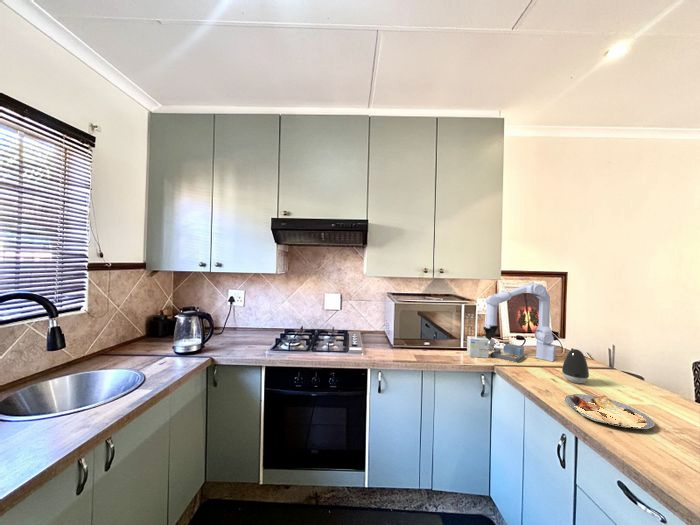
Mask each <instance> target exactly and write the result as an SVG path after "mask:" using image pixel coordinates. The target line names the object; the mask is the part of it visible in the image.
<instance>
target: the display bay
mask: <svg viewBox="0 0 700 525" xmlns="http://www.w3.org/2000/svg"><path fill="white" fill-rule="evenodd" d="M500 353H501V348H500V349H499V348H497V349H496V350H493V351H492V352H491V353H490V357H491V358H495V359H499V358H500V359H499V360H503V359H504V361H508V360H509V361H508V362H512V361H513V362H512V363H516V362H517V364H518V363H520V362H521V361H522V360H523V358H524V359H525V353H524V354H521V355H520V356H516V357H512V356H507V355H503V354H500ZM519 361H520V362H519Z"/></svg>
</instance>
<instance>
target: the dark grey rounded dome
mask: <svg viewBox="0 0 700 525" xmlns="http://www.w3.org/2000/svg"><path fill="white" fill-rule="evenodd" d="M561 372H562V375H563V377H564V379H565V380H567V381H568V382H569V383H570V382H571V383H573V384H577V383H581V384H584V383H586V382H587V381H588V378H589V377H590V370H589V366H588V363H587V359H586V356H585V355H584V353H583V352H582V351H581V350H580V349H578V348H577V349H576V348H574V347H573V348H571V349H570V350H569V351H568V352H567V354H566V356H565V359H564V361H563V364H562V368H561Z"/></svg>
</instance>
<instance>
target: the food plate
mask: <svg viewBox="0 0 700 525" xmlns="http://www.w3.org/2000/svg"><path fill="white" fill-rule="evenodd" d="M564 402H565V403H566V404H567V405H569V406H570V407H571V409H574V410H575V412H577V410H576V409H577V408H576V407H574V406H578V407H580V408H582V409H584V410H585V411H596V410H599V409H600V407H601V408H603V409H605V410H607V411H609V412H611V413H613V414H616V413H614V412H616V411H617V412H620V411H627V412H628V413H631V414H633V415H635V414H634V413H637V414H639V415H641V416H643V418H645V419H646V421H645V420H640V419H638V420H636V421H634V422H635V423H647V425H645V426H644V427H641V428H638V427H633V428H631V427H625V426H626V425H624V424H623V425H624V426H623V425H622V424H620V425H621V426H619V425H614V424H612V423H611V424H610V423H608V424H607V423H606V421H604V420H601V419H598V418H595V419H594V417H593V418H591V417H592V416H591V417H589V416H590V415H589V416H587V415H588V414H587V415H586V414H584V413H581V412H582V411H581V412H579V411H578V412H577V413H579V414H580V415H582V416H583V417H586V418H588V419H590V420H592V421H595V422H599V423H603V424H607V425H612V426H616V427H621V428H626V429H627V428H630V429H635V430H636V429H637V430H638V429H639V430H640V429H641V430H649V429H651V428H653V427H655V422H654V421H653V419H652V418H651V417H650V416H648V415H647V414H645V413H643V412H642V411H640V410H638V409H636V408H634V407H632V406H630V405H628V404H624V403H622V402H620V401H616V400H612V399H610V398H608V396H606V395H601V396H597V395H590V394H584V393H583V394H581V393H580V394H578V393H576V394H575V393H574V394H569V395H566V396H565V398H564ZM588 402H591V403H595V405H594V404H591V403H588ZM619 407H622V408H624V410H621V409H620V408H619ZM612 411H614V412H612ZM597 412H599V411H597ZM599 413H600V414H601V415H602V416H604V417H606V418H607V416H606V415H607V414H605V413H602V412H599ZM617 414H619V413H617ZM620 415H621V414H620ZM610 417H611V416H610ZM612 418H613V417H612ZM615 420H616V419H615ZM639 420H640V421H639ZM603 421H604V422H603Z"/></svg>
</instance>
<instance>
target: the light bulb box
mask: <svg viewBox="0 0 700 525" xmlns="http://www.w3.org/2000/svg"><path fill="white" fill-rule="evenodd" d="M466 338H467V339H466V355H467V356H468V357H469V358H481V359H482V358H483V359H484V358H486V359H488V358H489V351H490V350H489V339H487V338H486V336H472V335H471V336H469V335H467V337H466Z"/></svg>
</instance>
